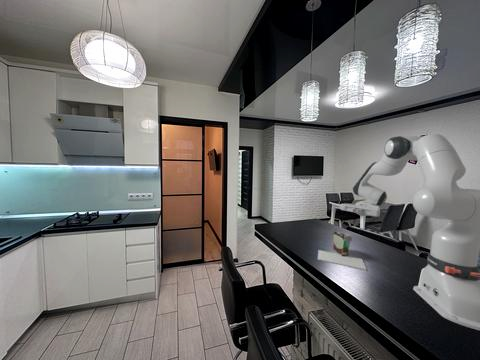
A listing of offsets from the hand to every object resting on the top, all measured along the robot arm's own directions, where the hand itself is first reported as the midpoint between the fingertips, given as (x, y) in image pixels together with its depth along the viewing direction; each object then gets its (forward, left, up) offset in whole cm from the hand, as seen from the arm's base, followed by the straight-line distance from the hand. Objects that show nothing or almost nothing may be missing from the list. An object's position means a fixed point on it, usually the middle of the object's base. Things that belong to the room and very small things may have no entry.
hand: (354, 211), depth 108 cm
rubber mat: (-20, +7, -21) cm, 30 cm away
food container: (-11, +5, -21) cm, 25 cm away
